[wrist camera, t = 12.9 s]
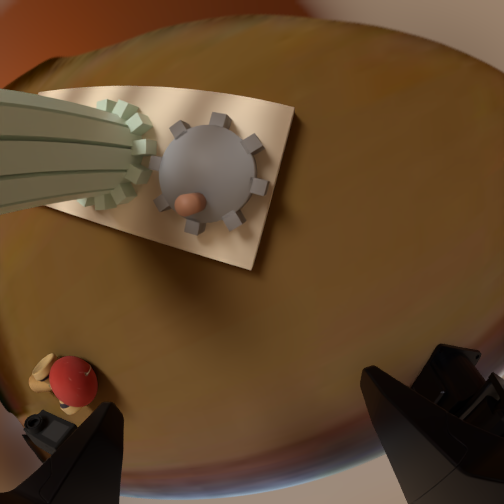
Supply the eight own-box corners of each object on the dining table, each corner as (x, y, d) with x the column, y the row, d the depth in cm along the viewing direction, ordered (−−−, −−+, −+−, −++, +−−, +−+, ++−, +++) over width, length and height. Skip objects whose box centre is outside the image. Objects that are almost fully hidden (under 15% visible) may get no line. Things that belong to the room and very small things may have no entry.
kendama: (64, 397, 32) (119, 400, 25) (37, 413, 26) (81, 428, 19) (42, 354, 32) (87, 339, 25) (13, 367, 26) (43, 360, 19)
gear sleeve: (145, 85, 16) (4, 25, 4) (168, 188, 18) (-2, 216, 6) (69, 130, 18) (-60, 125, 5) (86, 220, 20) (-49, 264, 7)
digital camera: (72, 419, 31) (50, 444, 24) (87, 440, 32) (68, 464, 26) (39, 404, 33) (19, 424, 26) (52, 424, 34) (34, 444, 28)
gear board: (294, 111, 17) (294, 90, 12) (253, 265, 20) (241, 290, 15) (46, 94, 18) (14, 88, 14) (28, 195, 22) (-5, 201, 17)
